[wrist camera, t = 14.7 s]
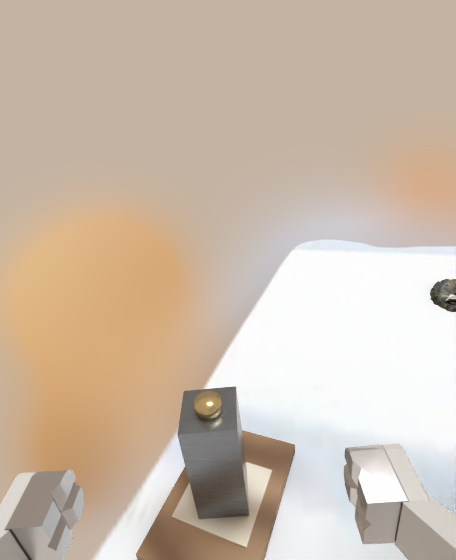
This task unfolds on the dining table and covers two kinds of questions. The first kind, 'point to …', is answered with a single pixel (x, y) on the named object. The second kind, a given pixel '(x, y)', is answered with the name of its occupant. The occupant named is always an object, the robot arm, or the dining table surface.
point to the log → (445, 294)
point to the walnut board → (229, 530)
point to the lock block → (214, 452)
